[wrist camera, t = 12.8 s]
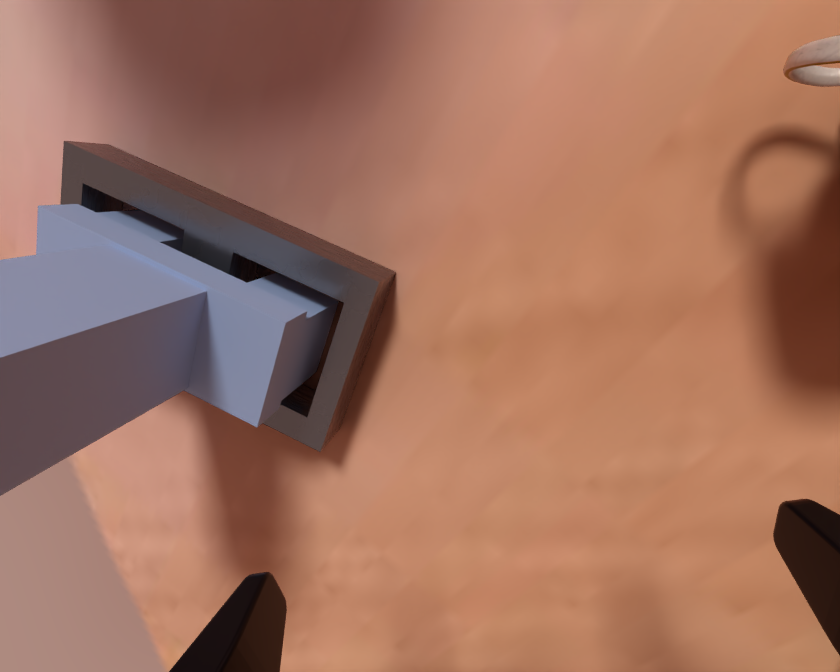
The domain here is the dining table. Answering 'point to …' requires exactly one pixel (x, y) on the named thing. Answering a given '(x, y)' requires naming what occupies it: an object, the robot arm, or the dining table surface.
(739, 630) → the dining table surface
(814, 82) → the chinaware
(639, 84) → the dining table surface
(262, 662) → the robot arm
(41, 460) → the blue-gray inverted t block
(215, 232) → the rail
